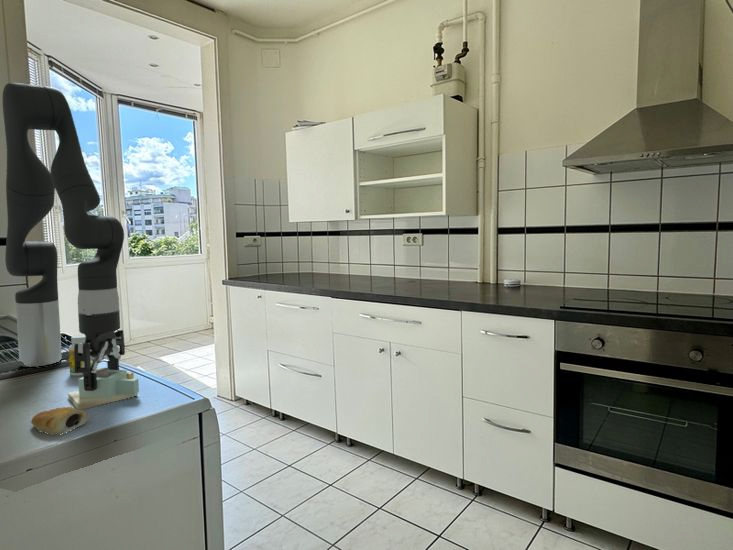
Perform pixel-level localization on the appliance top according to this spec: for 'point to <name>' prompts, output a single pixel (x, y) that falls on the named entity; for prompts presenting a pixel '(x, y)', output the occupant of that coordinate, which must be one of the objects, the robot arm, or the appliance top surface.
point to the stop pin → (130, 375)
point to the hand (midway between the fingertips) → (102, 383)
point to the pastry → (59, 420)
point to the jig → (92, 402)
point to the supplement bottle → (74, 340)
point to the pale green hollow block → (111, 385)
